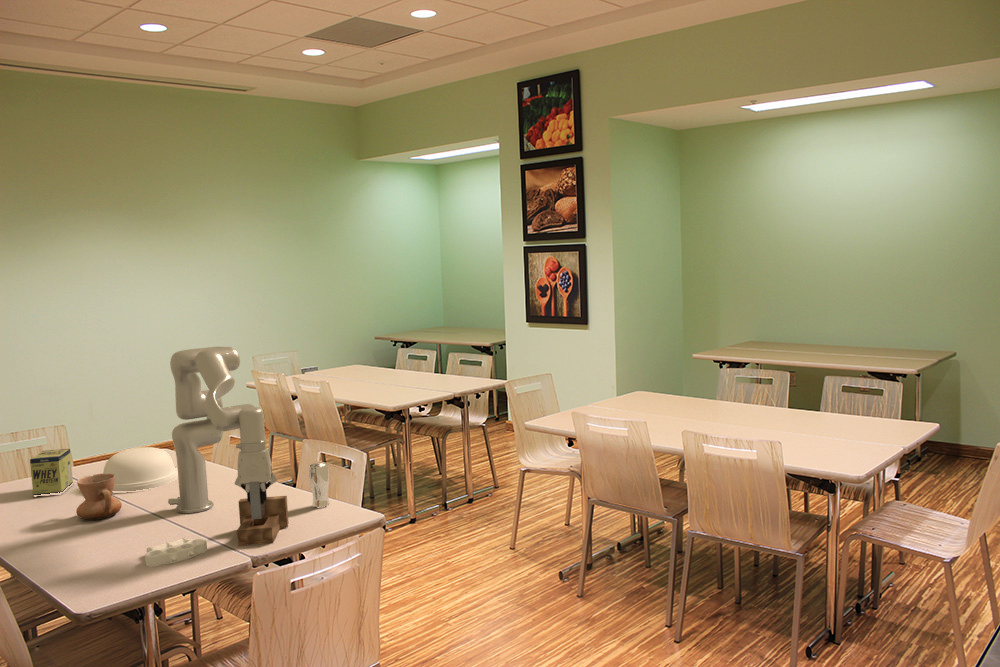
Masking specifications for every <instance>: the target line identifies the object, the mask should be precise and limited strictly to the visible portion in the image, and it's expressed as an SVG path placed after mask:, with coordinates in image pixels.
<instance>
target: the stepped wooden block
mask: <svg viewBox="0 0 1000 667" xmlns="http://www.w3.org/2000/svg"><path fill="white" fill-rule="evenodd" d="M287 496H288V495H279V496H277V495H276V496H267V500H265V502H264V507H265V514H264V515H263V517H262V519H252V517H251V505H250V504H249V502H248V500H247V498H240V499H239V500H238V511H239V512H238V514H239V526H238V528H237V530H236V533H237V536H236V538H237V547H241V546H243V547H244V546H255V545H268V544H274V542H275V540H276V538H277V536H278V534H279V532H280V530H281V529H285V528H284V527H287V528H288V527H289V525H290V524H289V510H288V509H289V508H288V507H289V506H288V497H287ZM288 524H289V525H288Z"/></svg>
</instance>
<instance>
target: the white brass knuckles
mask: <svg viewBox="0 0 1000 667" xmlns="http://www.w3.org/2000/svg"><path fill="white" fill-rule="evenodd" d="M207 551H208V542H207V539H205V538H194V539H193V538H192V539H191V538H190V539H189V538H188V537H183V538H181V539H177V540H173V541H168V542H165V543H162V544H158V545H153V546H148V547H147V548H146V553H145V555H144V556H145V557H144V559H145V560H144V561H145V565H146V566H147V567H158V566H162V565H165V564H167V565H168V564H173V563H178V562H180V561H184V560H189V559H192V558H194V557H195V556H197V555H199V554H202V553H203V554H204V553H206V552H207Z"/></svg>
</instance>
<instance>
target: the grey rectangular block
mask: <svg viewBox="0 0 1000 667" xmlns="http://www.w3.org/2000/svg"><path fill="white" fill-rule="evenodd" d="M249 489H250V503H251V517H252V519H262V517H263V515H264V514H265V507H264V504H261V489H262V488H261V483H259V482H249Z"/></svg>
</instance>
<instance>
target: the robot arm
mask: <svg viewBox="0 0 1000 667" xmlns="http://www.w3.org/2000/svg"><path fill="white" fill-rule="evenodd" d="M169 364H170V365H169V366H170V371H171V375H172V376H173V379H174V385H175V386H174V389H175V412H176V416H177V417H178V418H179V419H180V420H184V421H187V420H188V421H187V422H183V423H180V424H178V425H176V426H175V427H174V428H173V429H172V432H171V440H172V442H173V446H174V451H175V457H176V466H177V468H178V480H177V481H178V490H179V492H178V493H179V497H177V498H174V497H173V498H172V497H171V498H168V500H167V502H168V505H170V506H175V505H176V508H175V511H176V512H177V513H180V514H193V513H194V514H195V513H200V512H204V511H208V510H210V509H211V508H213V507H214V501H212V500H209V491H208V479H207V478H208V476H207V467H206V466H207V465H206V459H205V456H204V455H203V454H202V453H201V452H200V451H199V449H198V448H201V447H206V446H211V445H216V444H218V443H220V442H221V441H222V439H223V436H224V432H227V431H228V432H229V431H234V430H238V429H239V437H240V438H239V440H240V442H239V443H236V447H235V448H236V449H239V450H240V451H239V452H238V453H237V454H238V456H237V477H236V479H235V480H234V485H235V486H238V487H240V488H241V489H243V490H244V491H245V493H246V495H247V496H246V497H247V500H248V502H249V504H250V505H251V503H250V489H249V482H259V483H261V488H262V489H261V504H264V502H265V500H267V497H268V496H267V489H269V487H270V486H271V485H274V484H275V483H276V482H277V481H278V478H277V476H276V475H275V473H274V472H273V467H272V466H273V465H272V460H271V456H270V451H269V449H268V448H267V444H266V433H265V432H266V431H265V430H266V428H265V415H264V410H263V409H262V407H257V406H254V405H253V404H250V403H245V404H239V405H232V406H226V407H225V406H223V400H222V398H223V397H224V396H225V395H227V394H229V392H231V391H232V389H233V388H234V387H235V383H236V382H235V380H236V379H235V378H234V376H233V375H232V373H231V372H233V371H236V370H238V369H239V367H240V366H241V365H240V364H241V357H240V354H239V352H238V351H237V350H236V349H235V348H233V347H232V346H209V347H200V348H189V349H183V350H179V351H176V352H174V353H173V354H172V355H171V357H170V361H169ZM197 373H199V374H200V376H201V377H202V380H203V381H204V383H205V384H206V387H207V388H208V389H206V390H202V383H201V382H202V381H201V378H200V377H199V375H198V374H197ZM200 418H204V419H201V420H200ZM205 418H206V419H205ZM194 419H195V420H194ZM196 419H199V420H196ZM189 420H194V421H189Z"/></svg>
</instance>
